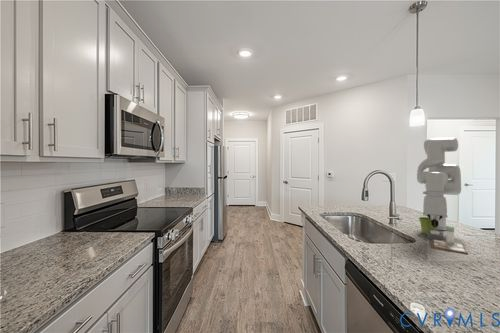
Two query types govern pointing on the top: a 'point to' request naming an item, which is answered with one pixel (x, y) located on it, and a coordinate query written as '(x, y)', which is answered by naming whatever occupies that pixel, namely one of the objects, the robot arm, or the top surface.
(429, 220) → the plant pot
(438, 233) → the button cap
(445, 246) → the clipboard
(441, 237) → the button box
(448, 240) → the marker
